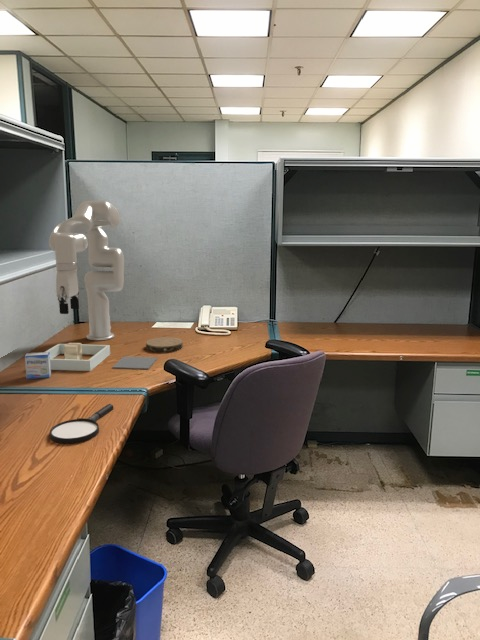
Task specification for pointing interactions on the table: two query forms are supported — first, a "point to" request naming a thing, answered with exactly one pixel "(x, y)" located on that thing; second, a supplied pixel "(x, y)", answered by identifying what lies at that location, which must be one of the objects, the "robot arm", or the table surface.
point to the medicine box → (37, 365)
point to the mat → (135, 363)
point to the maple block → (73, 351)
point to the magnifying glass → (78, 428)
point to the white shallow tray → (78, 365)
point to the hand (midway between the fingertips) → (69, 311)
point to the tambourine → (164, 344)
